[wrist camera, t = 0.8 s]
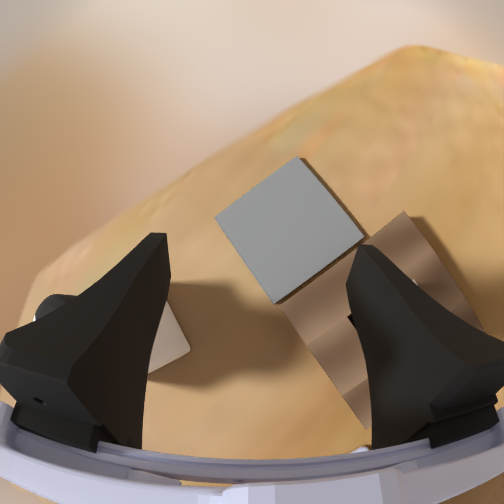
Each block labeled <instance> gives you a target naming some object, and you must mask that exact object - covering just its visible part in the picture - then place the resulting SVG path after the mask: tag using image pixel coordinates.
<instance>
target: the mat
mask: <svg viewBox="0 0 504 504" xmlns="http://www.w3.org/2000/svg"><path fill="white" fill-rule="evenodd" d="M214 218H215V220H216V221H217V223H218V224H219V226H220V227H221V229H222V230H223V232H224V233H225V234H226V236H227V237H228V239H229V240H230V242H231V243H232V245H233V246H234V248H235V249H236V251H237V252H238V254H239V255H240V256H241V258H242V259H243V261H244V262H245V264H246V265H247V267H248V268H249V270H250V271H251V273H252V274H253V275H254V277H255V278H256V280H257V281H258V283H259V284H260V286H261V287H262V288H263V290H264V291H265V293H266V294H267V296H268V297H269V299H270V300H271V302H272V303H273V304H275V303H277V302H278V301H280V300H281V299H282V298H284V297H285V296H287V295H288V294H289V293H291V292H292V291H294V290H295V289H296V288H298V287H299V286H300V285H302V284H303V283H305V282H306V281H307V280H309V279H310V278H311V277H313V276H314V275H315V274H317V273H318V272H319V271H321V270H322V269H323V268H325V267H326V266H327V265H329V264H330V263H331V262H333V261H334V260H335V259H337V258H338V257H339V256H341V255H342V254H343V253H345V252H346V251H347V250H349V249H350V248H351V247H352V246H354V245H355V244H356V243H358V242H359V241H360V240H361V239H363V238H364V235H363V234H362V233H361V231H360V230H359V229H358V228H357V226H356V225H355V224H354V223H353V221H352V220H351V219H350V218H349V216H348V215H347V214H346V213H345V211H344V210H343V209H342V208H341V206H340V205H339V204H338V203H337V202H336V200H335V199H334V198H333V197H332V196H331V194H330V193H329V192H328V191H327V190H326V188H325V187H324V186H323V185H322V184H321V182H320V181H319V180H318V179H317V178H316V177H315V176H314V174H313V173H312V172H311V171H310V170H309V169H308V168H307V166H306V165H305V164H304V163H303V162H302V161H301V160H300V158H299V157H298V156H296V157H295V158H293V159H292V160H290V161H289V162H288V163H286V164H285V165H284V166H282V167H281V168H279V169H278V170H277V171H275V172H274V173H273V174H271V175H270V176H268V177H267V178H266V179H264V180H263V181H262V182H260V183H259V184H258V185H256V186H255V187H254V188H252V189H251V190H250V191H248V192H247V193H246V194H244V195H243V196H242V197H240V198H239V199H238V200H236V201H235V202H234V203H232V204H231V205H230V206H229V207H227V208H226V209H225V210H223V211H222V212H221V213H219V214H218V215H217V216H216V217H214Z"/></svg>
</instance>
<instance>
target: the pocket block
mask: <svg viewBox="0 0 504 504" xmlns="http://www.w3.org/2000/svg"><path fill="white" fill-rule="evenodd" d="M363 244H365V245H374V246H375V247H376V248H377V249H379V250H380V251H381V252H382V253H383V254H384V255H385V256H386V257H388V258H389V259H390V260H391V261H392V262H393V263H394V264H395V265H396V266H397V267H398V268H399V269H400V270H401V271H402V272H403V273H405V274H406V275H407V276H408V277H409V278H410V279H411V280H413V279H414V280H415V282H416V283H417V285H418V286H419V287H420V288H421V289H422V290H423V291H425V292H426V293H427V294H428V295H429V296H431V297H432V298H433V299H434V300H436V301H437V302H438V303H439V304H441V305H442V306H443V307H445V308H446V309H447V310H449V311H450V312H452V313H453V314H454V315H456V316H458V317H459V318H461V319H462V320H464V321H465V322H467V323H468V324H470V325H472V326H473V327H475V328H477V329H479V330H481V331H482V332H484V333H486V332H485V330H484V329H483V327H482V325H481V323H480V322H479V320H478V318H477V316H476V315H475V313H474V311H473V310H472V308H471V306H470V305H469V303H468V301H467V300H466V298H465V296H464V295H463V293H462V292H461V290H460V288H459V287H458V285H457V284H456V282H455V281H454V279H453V278H452V276H451V275H450V273H449V272H448V270H447V269H446V267H445V266H444V264H443V263H442V261H441V260H440V258H439V257H438V256H437V254H436V253H435V251H434V250H433V249H432V247H431V246H430V244H429V243H428V242H427V240H426V239H425V238H424V236H423V235H422V234H421V232H420V231H419V230H418V228H417V227H416V226H415V224H414V223H413V222H412V220H411V219H410V218H409V217H408V215H407V214H406V213H405V211H403V212H401V213H400V214H399V215H398V216H397V217H395V218H394V219H393V220H392V221H390V222H389V223H388V224H387V225H385V226H384V227H383V228H382V229H380V230H379V231H378V232H377V233H375V234H374V235H373V236H372V237H370V238H369V239H368V240H367V241H365V242H364V243H363ZM356 251H357V248H356V249H355V250H354V251H352V252H351V253H350V254H349V255H347V256H346V257H345V258H343V259H342V260H341V261H339V262H338V263H337V264H335V265H334V266H333V267H331V268H330V269H329V270H327V271H326V272H325V273H323V274H322V275H321V276H319V277H318V278H317V279H315V280H314V281H313V282H311V283H310V284H309V285H307V286H306V287H304V288H303V289H302V290H300V291H299V292H298V293H296V294H295V295H293V296H292V297H291V298H289V299H288V300H286V301H285V302H284V303H282V304H281V305H279V307H280V308H281V310H282V311H283V312H284V314H285V315H286V317H287V318H288V320H289V321H290V322H291V324H292V325H293V327H294V328H295V330H296V331H297V332H298V334H299V335H300V337H301V338H302V340H303V341H304V343H305V344H306V345H307V347H308V348H309V350H310V351H311V353H312V354H313V355H314V357H315V358H316V360H317V361H318V363H319V364H320V365H321V367H322V368H323V370H324V371H325V372H326V374H327V375H328V377H329V378H330V380H331V381H332V382H333V384H334V385H335V387H336V388H337V390H338V391H339V392H340V394H341V395H342V397H343V398H344V399H345V401H346V402H347V404H348V405H349V407H350V408H351V409H352V411H353V412H354V414H355V415H356V416H357V418H358V419H359V421H360V422H361V423H362V425H363V426H364V428H365V429H367V428H369V427H370V426H372V418H371V401H370V391H369V382H368V375H367V369H366V362H365V358H364V354H363V350H362V347H361V343H360V340H359V337H358V333H357V331H356V329H355V328H354V326H353V325H352V323H351V322H350V321H349V319H348V318H347V316H349V315H350V314H351V310H350V307H349V302H348V296H347V290H346V281H347V278H348V276H349V273H350V270H351V267H352V264H353V261H354V257H355V254H356Z"/></svg>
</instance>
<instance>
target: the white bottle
mask: <svg viewBox="0 0 504 504" xmlns="http://www.w3.org/2000/svg"><path fill="white" fill-rule="evenodd" d="M75 297H77V296H74V295H62V294H53V295H50V296H48V297H47V298H46V299H45V300H44V301H43V302H42V303H41V304H40V306H39V307H38V309H37V311H36V313H35V316H34V320H33V321H35V320H37V319H39V318H41V317H43V316H45V315H47V314H49V313H50V312H52V311H54V310H56V309H58V308H59V307H61V306H62V305H64V304H66V303H67V302H69V301H70V300H72V299H73V298H75ZM190 349H191V348H190V346H189V344H188V342H187V340H186V338H185V336H184V334H183V332H182V330H181V328H180V326H179V324H178V322H177V320H176V318H175V316H174V314H173V312H172V310H171V308H170V306H169V304H168V302H167V301H166V304H165V307H164V311H163V314H162V317H161V321H160V324H159V327H158V331H157V334H156V337H155V341H154V344H153V348H152V352H151V357H150V363H149V369H148V374H149V373H151V372H153V371H155V370H157V369H158V368H160V367H162V366H164V365H166V364H168V363H170V362H172V361H174V360H176V359H177V358H179V357H181V356H183V355H185V354H187V353H188V352H189V351H190Z"/></svg>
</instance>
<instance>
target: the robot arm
mask: <svg viewBox="0 0 504 504" xmlns="http://www.w3.org/2000/svg"><path fill="white" fill-rule="evenodd" d="M170 279H171V271H170V262H169V253H168V244H167V233H150V234H149V235H147V236H146V237H145V238H144V239H143V240H142V241H141V242H140V243H139V244H138V245H137V246H136V247H135V248H134V249H133V250H132V251H131V252H130V253H129V254H128V255H127V256H125V257H124V258H123V259H122V260H121V261H120V262H119V263H118V264H117V265H116V266H115V267H113V268H112V269H111V270H110V271H109V272H108V273H106V274H105V275H104V276H103V277H102V278H101V279H99V280H98V281H97V282H96V283H94V284H93V285H92V286H91V287H89V288H88V289H86V290H85V291H84V292H82V293H81V294H80V295H78V296H77V297H75V298H73V299H72V300H70V301H69V302H67V303H66V304H64V305H62V306H61V307H59V308H58V309H56V310H54V311H52V312H50V313H49V314H47V315H45V316H43V317H41V318H39V319H37V320H35V321H33V322H31V323H29V324H27V325H24V326H22V327H20V328H17V329H15V330H13V331H10V332H7V333H6V334H5V336H4V338H3V340H2V342H1V344H0V384H1V385H2V386H3V387H4V388H5V389H6V390H7V391H8V392H9V394H10V395H11V396H12V397H13V398H14V399H15V400H16V401H17V402H16V404H15V407H14V408H13V407H11V406H10V405H8V404H6V403H4V402H2V401H0V476H1V477H3V478H5V479H6V480H8V481H10V482H12V483H14V484H16V485H18V486H20V487H22V488H24V489H26V490H28V491H31V492H33V493H35V494H37V495H40V496H42V497H44V498H47V499H49V500H51V501H54V502H56V503H59V504H438V503H440V502H443V501H445V500H448V499H450V498H452V497H455V496H457V495H459V494H462V493H464V492H466V491H468V490H470V489H472V488H475V487H477V486H479V485H481V484H483V483H485V482H487V481H488V480H490V479H492V478H494V477H496V476H498V475H500V474H501V473H503V472H504V407H502V408H500V409H498V410H497V411H496V409H495V407H494V404H496V403H497V402H498V399H497V396H496V393H497V392H498V391H499V390H500V389H501V388H502V387H503V386H504V342H503V341H501V340H499V339H496V338H494V337H492V336H490V335H488V334H486V333H484V332H482V331H481V330H479V329H477V328H475V327H473V326H472V325H470V324H468V323H467V322H465V321H464V320H462V319H461V318H459V317H458V316H456V315H454V314H453V313H452V312H450V311H449V310H447V309H446V308H445V307H443V306H442V305H441V304H439V303H438V302H437V301H436V300H434V299H433V298H432V297H431V296H429V295H428V294H427V293H426V292H425V291H423V290H422V289H421V288H420V287H419V286H418V285H417V284H415V283H414V282H413V281H412V280H411V279H410V278H409V277H408V276H407V275H406V274H405V273H403V272H402V271H401V270H400V269H399V268H398V267H397V266H396V265H395V264H394V263H393V262H392V261H391V260H390V259H389V258H388V257H386V256H385V255H384V254H383V253H382V252H381V251H380V250H379V249H377V248H376V247H375V246H374V245H365V244H359V245H358V248H357V251H356V254H355V257H354V261H353V264H352V267H351V270H350V273H349V276H348V278H347V281H346V290H347V296H348V302H349V307H350V310H351V314H352V317H353V320H354V323H355V327H356V330H357V333H358V337H359V340H360V343H361V347H362V350H363V354H364V358H365V362H366V369H367V375H368V382H369V391H370V401H371V418H372V450H369V449H368V448H367V447H366V446H362V447H359V448H358V449H356V450H354V451H353V452H351V453H349V454H342V455H333V456H323V457H311V458H296V459H266V460H251V459H220V458H205V457H193V456H184V455H175V454H167V453H160V452H153V451H147V450H142V428H143V413H144V401H145V392H146V384H147V376H148V369H149V363H150V357H151V352H152V348H153V344H154V341H155V337H156V334H157V331H158V327H159V324H160V321H161V317H162V314H163V311H164V307H165V304H166V301H167V296H168V291H169V285H170ZM175 479H177V480H175ZM179 480H186V481H196V482H208V483H225V484H239V485H233V486H230V487H206V486H182V485H181V482H180V481H179Z"/></svg>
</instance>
